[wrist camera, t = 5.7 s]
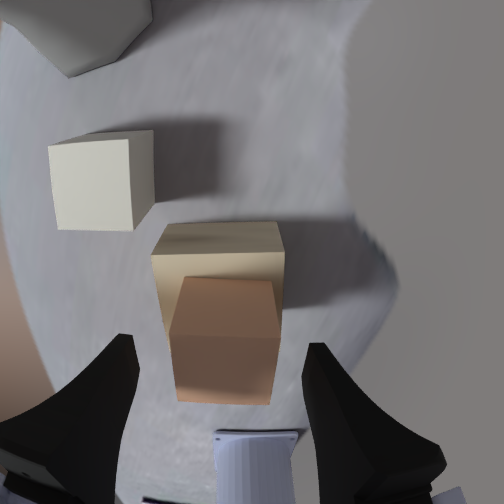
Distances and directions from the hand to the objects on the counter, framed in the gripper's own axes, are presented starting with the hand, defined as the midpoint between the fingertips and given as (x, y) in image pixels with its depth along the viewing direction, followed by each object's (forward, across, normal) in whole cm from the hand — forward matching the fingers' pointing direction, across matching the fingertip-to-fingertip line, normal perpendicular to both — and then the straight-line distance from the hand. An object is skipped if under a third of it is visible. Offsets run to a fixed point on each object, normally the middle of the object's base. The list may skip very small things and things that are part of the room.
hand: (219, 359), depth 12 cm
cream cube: (+7, +6, -6) cm, 11 cm away
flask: (+7, +8, -15) cm, 19 cm away
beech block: (+7, 0, 0) cm, 7 cm away
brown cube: (+3, 0, 0) cm, 3 cm away
